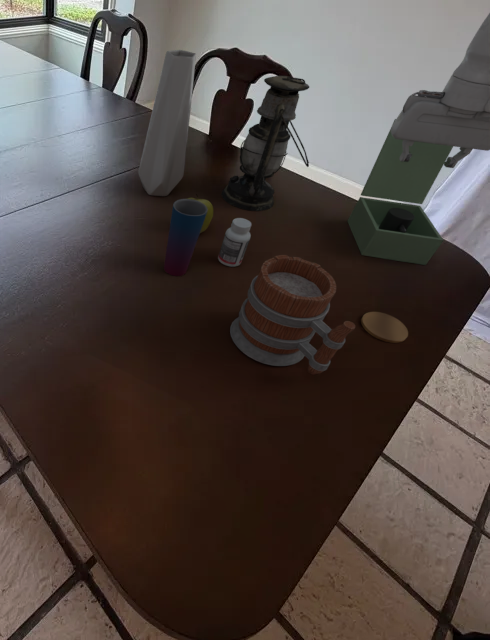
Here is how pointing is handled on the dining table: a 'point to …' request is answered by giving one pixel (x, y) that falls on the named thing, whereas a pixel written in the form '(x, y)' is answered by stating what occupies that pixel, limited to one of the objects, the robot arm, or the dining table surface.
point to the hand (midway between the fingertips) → (425, 163)
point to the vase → (168, 125)
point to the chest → (393, 232)
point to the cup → (183, 234)
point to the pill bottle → (235, 242)
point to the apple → (208, 215)
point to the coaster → (384, 327)
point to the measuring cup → (397, 220)
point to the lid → (405, 171)
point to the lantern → (266, 146)
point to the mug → (289, 315)
